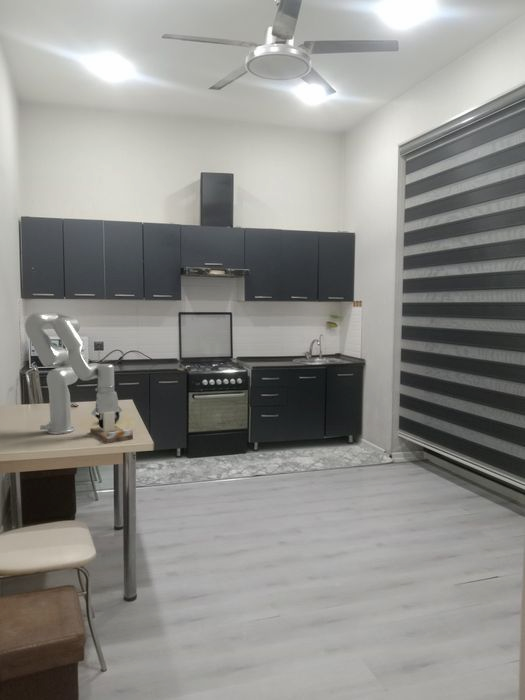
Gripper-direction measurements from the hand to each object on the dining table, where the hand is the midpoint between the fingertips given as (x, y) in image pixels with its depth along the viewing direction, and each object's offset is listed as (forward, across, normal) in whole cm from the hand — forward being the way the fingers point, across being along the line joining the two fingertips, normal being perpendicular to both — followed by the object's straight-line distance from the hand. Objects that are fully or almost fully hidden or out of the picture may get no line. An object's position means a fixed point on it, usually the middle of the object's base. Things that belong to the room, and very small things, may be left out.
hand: (107, 426), depth 249 cm
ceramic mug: (+4, +10, +24) cm, 26 cm away
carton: (+2, 0, 0) cm, 2 cm away
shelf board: (+4, 0, -5) cm, 6 cm away
